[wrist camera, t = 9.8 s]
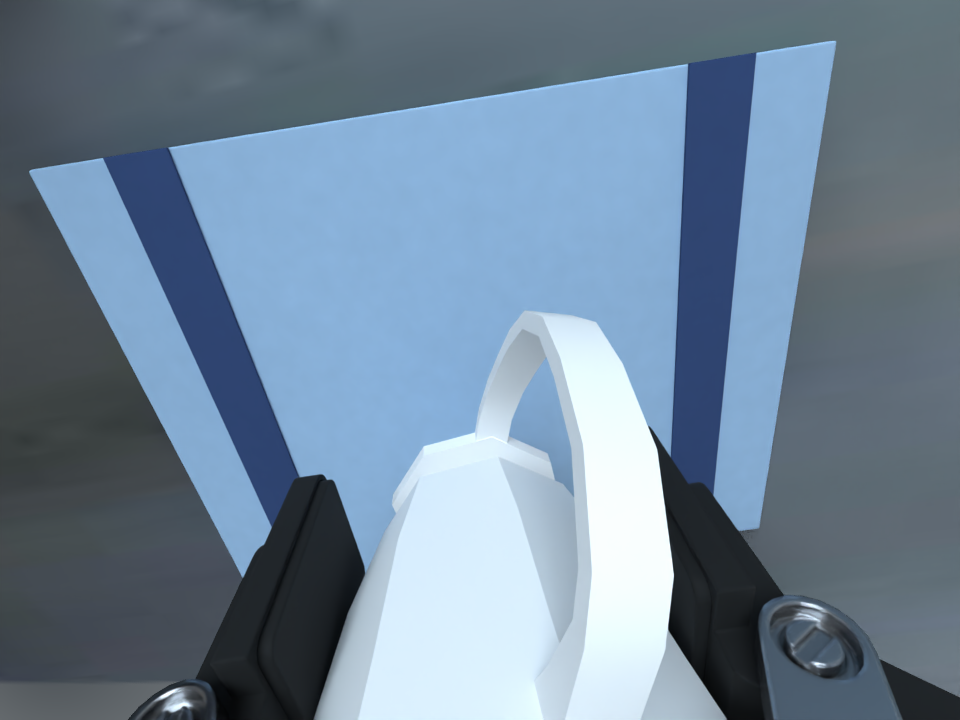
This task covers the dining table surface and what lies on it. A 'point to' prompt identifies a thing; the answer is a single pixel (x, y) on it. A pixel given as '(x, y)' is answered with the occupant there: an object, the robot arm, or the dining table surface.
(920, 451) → the dining table surface
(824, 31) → the dining table surface
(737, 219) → the towel
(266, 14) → the dining table surface
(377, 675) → the cup
